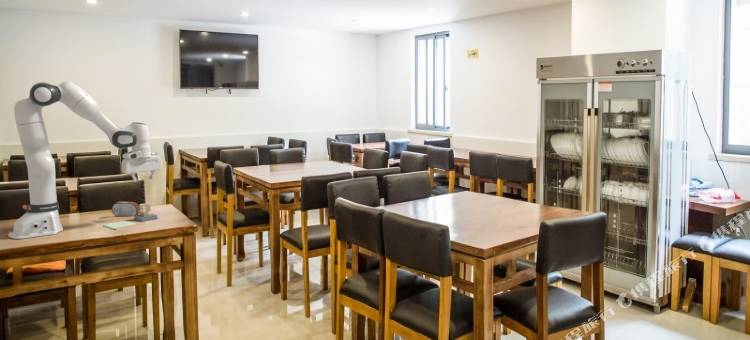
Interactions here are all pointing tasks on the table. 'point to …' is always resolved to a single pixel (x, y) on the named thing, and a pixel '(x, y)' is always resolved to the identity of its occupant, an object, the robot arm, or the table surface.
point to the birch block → (145, 210)
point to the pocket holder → (145, 218)
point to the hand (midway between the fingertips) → (143, 180)
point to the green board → (118, 224)
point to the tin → (125, 209)
